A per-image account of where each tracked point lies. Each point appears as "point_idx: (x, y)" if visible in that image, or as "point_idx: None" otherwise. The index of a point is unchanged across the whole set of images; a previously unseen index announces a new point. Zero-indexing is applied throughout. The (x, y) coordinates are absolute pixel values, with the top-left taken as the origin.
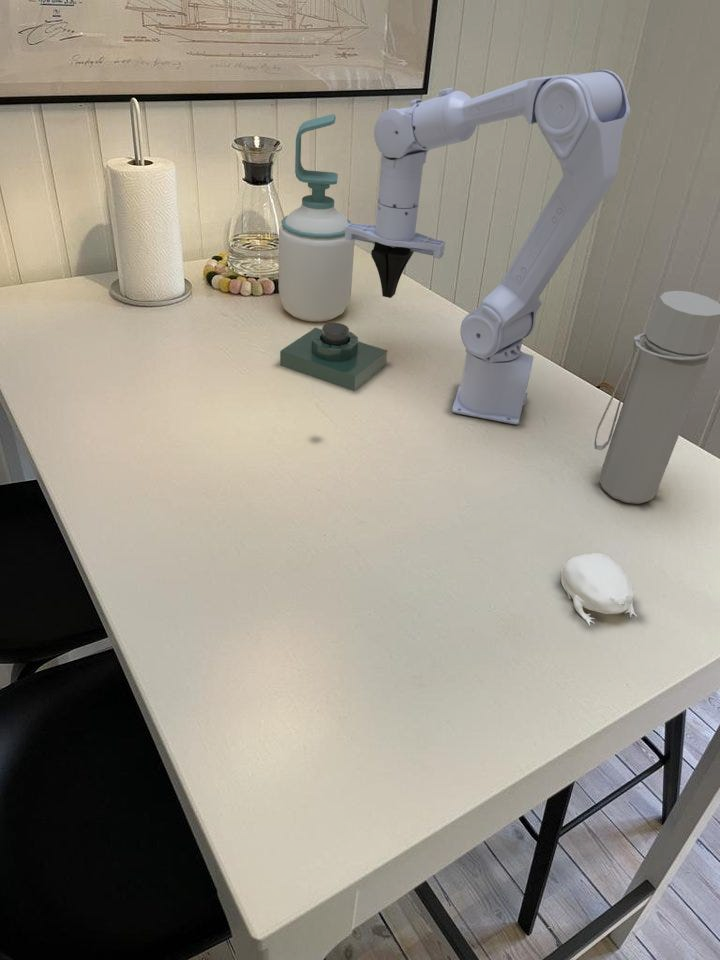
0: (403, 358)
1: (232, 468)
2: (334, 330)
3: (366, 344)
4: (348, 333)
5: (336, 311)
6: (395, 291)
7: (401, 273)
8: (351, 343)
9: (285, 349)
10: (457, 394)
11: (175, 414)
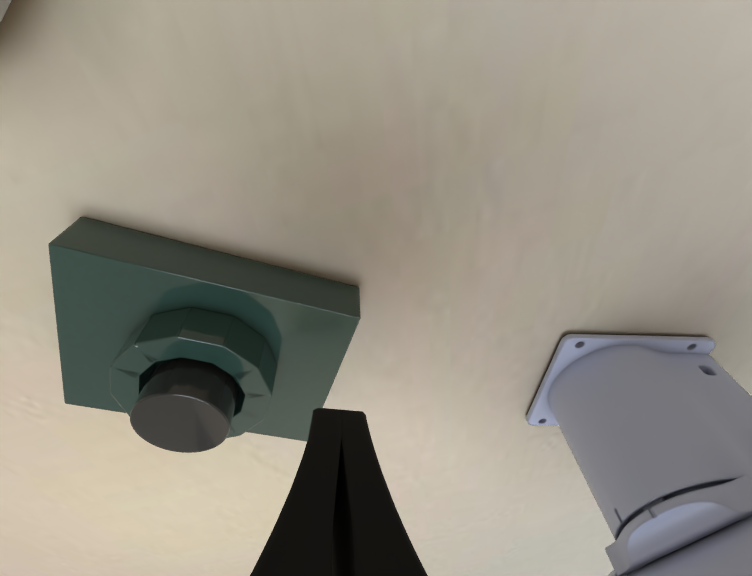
0: (408, 232)
1: (214, 567)
2: (184, 437)
3: (284, 303)
4: (231, 416)
5: (2, 11)
6: (366, 424)
7: (400, 530)
8: (254, 404)
9: (72, 395)
10: (549, 379)
11: (48, 524)
